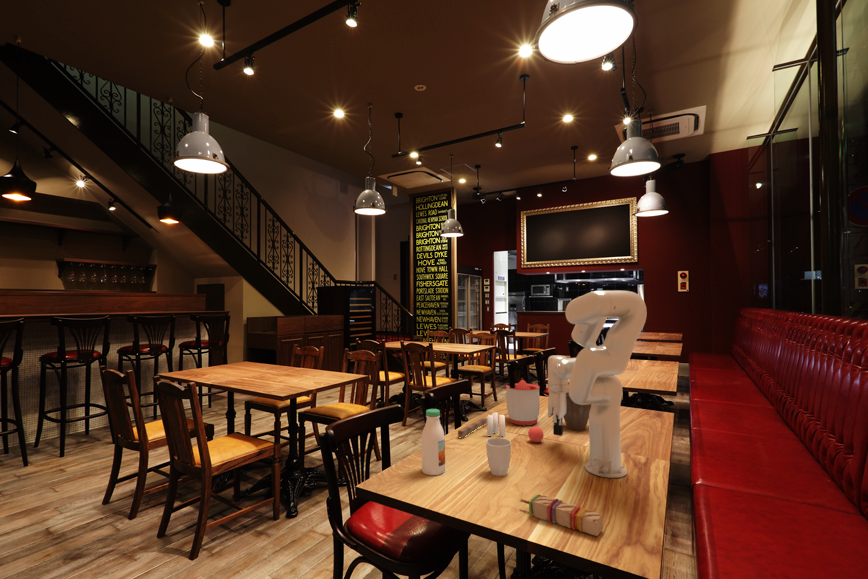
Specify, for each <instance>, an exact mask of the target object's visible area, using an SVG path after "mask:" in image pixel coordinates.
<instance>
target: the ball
mask: <svg viewBox="0 0 868 579" xmlns="http://www.w3.org/2000/svg"><path fill="white" fill-rule="evenodd" d="M527 435H528V438H529V440H530V441H531V442H533V443H541V441H543V439H544V435H545V434H544V430H542V428H540V427H539V426H532V427H531V428H529V430H528V433H527Z"/></svg>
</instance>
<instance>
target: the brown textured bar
mask: <svg viewBox="0 0 868 579" xmlns="http://www.w3.org/2000/svg"><path fill="white" fill-rule="evenodd" d="M486 423H487V417H483V418H480V419H478V420H477V421H474V422H472V423H471V424H469V425H466V426H465V427H463V428H461V429H459V430H457V437H461V438H463V437H465V436H466V435H468V434H469V433H471V432H472V431H474V430H475V429H477V428H478V427H480V426H482V425H484V424H486ZM465 438H466V437H465ZM463 439H464V438H463Z"/></svg>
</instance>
